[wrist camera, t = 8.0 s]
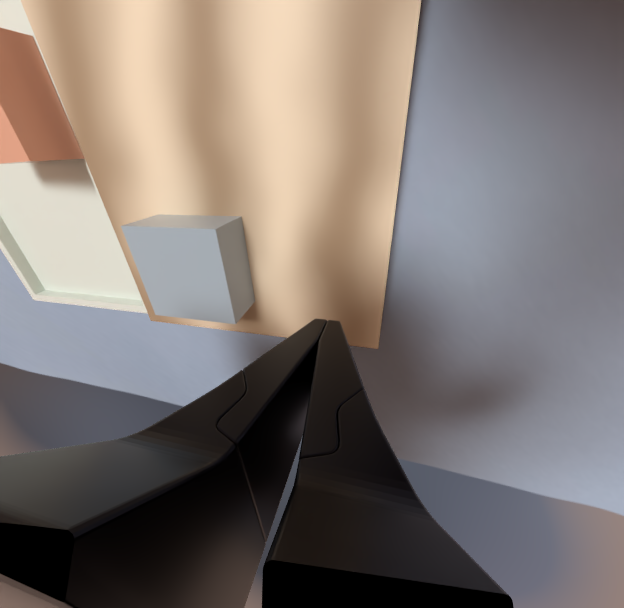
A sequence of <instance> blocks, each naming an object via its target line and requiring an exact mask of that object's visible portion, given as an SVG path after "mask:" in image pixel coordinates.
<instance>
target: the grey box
mask: <svg viewBox="0 0 624 608" xmlns="http://www.w3.org/2000/svg"><path fill="white" fill-rule="evenodd" d="M121 228H122V231H123V233H124V236H125V238H126V241H127V243H128V246H129V248H130V251H131V254H132V256H133V259H134V261H135V264H136V266H137V269H138V271H139V274H140V277H141V279H142V282H143V284H144V287H145V289H146V292H147V294H148V297H149V300H150V302H151V305H152V307H153V310H154V312H155V315H161V316H169V317H178V318H186V319H194V320H203V321H211V322H220V323H228V324H236V323H237V322H238V321H239V320H240V319H241V318H242V316H243V315H244V314H245V313H246V312H247V310H248V309H249V308H250V307H251V306H252V304H253V303H254V302H255V297H254V291H253V285H252V278H251V272H250V266H249V260H248V253H247V247H246V241H245V235H244V228H243V222H242V216H207V215H163V214H158V215H155V216H152V217H148V218H145V219H142V220H138V221H135V222H132V223H128V224H125V225H122V226H121Z"/></svg>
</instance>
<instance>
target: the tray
mask: <svg viewBox="0 0 624 608" xmlns="http://www.w3.org/2000/svg"><path fill="white" fill-rule="evenodd" d="M0 28H4V29H8V30H12V31H16V32H19V33H23V34H27V35H31V36H33V38H34V40H35V43H36V45H37V47H38V50H39V52H40V54H41V57H42V59H43V61H44V64H45V66H46V69H47V71H48V73H49V76H50V78H51V80H52V83H53V85H54V87H55V90H56V92H57V94H58V91H57V89H56V86H55V84H54V81H53V79H52V76H51V74H50V72H49V69H48V67H47V64H46V62H45V59H44V57H43V54H42V52H41V49H40V47H39V45H38V42H37V40H36V37H35V35H34V32H33V30H32V27H31V25H30V22H29V20H28V18H27V15H26V13H25V10H24V8H23V5H22V3H21V0H0ZM58 97H59V99H60V96H59V94H58ZM60 101H61V99H60ZM61 104H62V106H63V103H62V101H61ZM63 108H64V106H63ZM64 111H65V108H64ZM65 113H66V111H65ZM66 116H67V113H66ZM67 118H68V116H67ZM68 120H69V118H68ZM69 123H70V121H69ZM70 125H71V123H70ZM71 127H72V126H71ZM72 130H73V128H72ZM73 132H74V130H73ZM74 134H75V133H74ZM75 137H76V135H75ZM76 139H77V138H76ZM77 141H78V140H77ZM78 144H79V143H78ZM79 146H80V145H79ZM81 151H82V150H81ZM83 156H84V155H83ZM0 249H1V250H2V252H3V253H4V255H5V256H6V258H7V259H8V261H9V263H10V264H11V266H12V267H13V269H14V270H15V272H16V273H17V275H18V276H19V278H20V280H21V281H22V283H23V284H24V286H25V287H26V289H27V290H28V292H29V293H30V295H31V297H32V298H33V300H38V301H46V302H55V303H63V304H72V305H80V306H89V307H97V308H106V309H114V310H123V311H131V312H140V313H148V312H147V310H146V307H145V305H144V302H143V300H142V298H141V295H140V293H139V290H138V288H137V285H136V283H135V280H134V278H133V275H132V273H131V270H130V268H129V266H128V263H127V261H126V258H125V256H124V253H123V251H122V248H121V246H120V243H119V241H118V239H117V236H116V234H115V231H114V229H113V226H112V224H111V221H110V219H109V216H108V214H107V212H106V209H105V207H104V204H103V202H102V199H101V197H100V194H99V192H98V189H97V187H96V185H95V182H94V180H93V177H92V175H91V172H90V170H89V167H88V165H87V162H86V160H85V159H73V160H60V161H47V162H34V163H14V164H0Z"/></svg>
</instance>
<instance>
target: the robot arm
mask: <svg viewBox="0 0 624 608" xmlns="http://www.w3.org/2000/svg"><path fill="white" fill-rule="evenodd" d="M302 435H303V438H302ZM301 438H302V444H301V450H300V456H299V463H298V468H297V473H296V478H295V483H294V486H293V489H292V492H291V495H290V497H289V500H288V503H287V505H286V508H285V511H284V513H283V516H282V519H281V521H280V524H279V527H278V529H277V532H276V535H275V537H274V540H273V542H272V545H271V548H270V550H269V553H268V556H267V558H266V561H265V564H264V567H263V587H262V608H513V602H512V599H511V597H510V596H509V595H508V594H507V593H506V592H505V591H504V590H503V589H502V588H501V587H500V586H499V585H498V584H497V583H496V582H495V581H494V580H493V579H492V578H491V577H490V576H489V575H488V574H487V573H486V572H485V571H484V570H483V569H482V568H481V567H480V566H479V565H478V564H477V563H476V562H475V561H474V559H473V558H472V557H470V555H469V554H468V553H466V551H465V550H464V549H463V548H462V547H461V546H460V545H459V544H458V543H457V542H456V541H455V540H454V539H453V538H452V537H451V536H450V535H449V534H448V533H447V532H446V531H445V530H444V529H443V528H442V527H441V526H440V525H439V524H438V523H437V522H436V520H435V519H434V518H432V516H431V515H430V513H429V512H428V511H427V509H426V508H425V507H424V505H423V504H422V502H421V501H420V499H419V498H418V496H417V494H416V493H415V491H414V489H413V487H412V485H411V484H410V482H409V480H408V478H407V476H406V474H405V472H404V471H403V469H402V467H401V465H400V463H399V461H398V459H397V457H396V456H395V454H394V452H393V450H392V448H391V446H390V444H389V442H388V441H387V439H386V437H385V435H384V433H383V431H382V429H381V427H380V425H379V423H378V421H377V419H376V417H375V414H374V412H373V409H372V407H371V404H370V402H369V399H368V396H367V394H366V391H365V389H364V386H363V383H362V380H361V377H360V375H359V372H358V369H357V366H356V364H355V361H354V358H353V355H352V352H351V350H350V347H349V344H348V341H347V339H346V336H345V333H344V330H343V327H342V325H341V322H340V321H335V320H328V321H327V320H325V319H314V320H312V321H311V322H309V323H308V324H307V325H305V326H304V327H302V328H301V329H300V330H298V331H297V332H295V333H294V334H292V335H291V336H290V337H288V338H287V339H285V340H284V341H282V342H281V343H280V344H278V345H277V346H275V347H274V348H273V349H271V350H270V351H268V352H267V353H265V354H264V355H263V356H261V357H260V358H258V359H257V360H255V361H254V362H253V363H251V364H250V365H248V366H247V367H246V368H244V369H243V371H242V370H241V371H240V372H238V373H237V374H235V375H234V376H233V377H231V378H230V379H228V380H227V381H225V382H224V383H222V384H221V385H219V386H218V387H216V388H215V389H213V390H211V391H210V392H208V393H206V394H205V395H203V396H201V397H200V398H198V399H196V400H195V401H193V402H191V403H190V404H188V405H186V406H184V407H183V408H181V409H179V410H177V411H176V412H174V413H173V414H171V415H169V416H167V417H165V418H164V419H162V420H160V421H159V422H157V423H155V424H153V425H152V426H150V427H148V428H146V429H144V430H142V431H140V432H138V433H135V434H133V435H130V436H127V437H124V438H119V439H115V440H110V441H103V442H96V443H90V444H83V445H76V446H69V447H62V448H56V449H49V450H42V451H35V452H29V453H22V454H15V455H8V456H1V457H0V608H244V606H245V603H246V601H247V598H248V595H249V592H250V589H251V586H252V583H253V580H254V577H255V574H256V571H257V568H258V565H259V562H260V559H261V556H262V554H263V551H264V548H265V542H266V541H267V538H268V536H269V532H270V530H271V526H272V524H273V521H274V518H275V515H276V512H277V509H278V506H279V503H280V500H281V497H282V494H283V491H284V488H285V485H286V482H287V479H288V477H289V473H290V471H291V468H292V465H293V462H294V459H295V456H296V453H297V450H298V447H299V444H300V441H301Z"/></svg>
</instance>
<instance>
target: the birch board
mask: <svg viewBox="0 0 624 608" xmlns="http://www.w3.org/2000/svg"><path fill="white" fill-rule="evenodd" d="M21 3H22V5H23V8H24V10H25V13H26V15H27V18H28V20H29V22H30V25H31V27H32V30H33V32H34V35H35V37H36V40H37V42H38V45H39V47H40V49H41V52H42V54H43V57H44V59H45V62H46V64H47V67H48V69H49V72H50V74H51V76H52V79H53V81H54V84H55V86H56V89H57V91H58V94H59V96H60V99H61V101H62V103H63V106H64V108H65V111H66V113H67V116H68V118H69V121H70V123H71V126H72V128H73V130H74V133H75V135H76V138H77V140H78V143H79V145H80V148H81V150H82V153H83V155H84V158H85V160H86V162H87V165H88V167H89V170H90V172H91V175H92V177H93V180H94V182H95V185H96V187H97V189H98V192H99V194H100V197H101V199H102V202H103V204H104V207H105V209H106V212H107V214H108V216H109V219H110V221H111V224H112V226H113V229H114V231H115V234H116V236H117V239H118V241H119V243H120V246H121V248H122V251H123V253H124V256H125V258H126V261H127V263H128V266H129V268H130V270H131V273H132V275H133V278H134V280H135V283H136V285H137V288H138V290H139V293H140V295H141V298H142V300H143V302H144V305H145V307H146V310H147V312H148V315H149V317H150V320H151V321H158V322H166V323H174V324H182V325H190V326H198V327H206V328H214V329H222V330H230V331H238V332H246V333H254V334H262V335H270V336H278V337H286V338H288V337H290V336H291V335H292V334H294V333H295V332H297V331H298V330H300V329H301V328H302V327H304V326H305V325H307V324H308V323H309V322H311V321H312V320H314V319H325V320H327V321H328V320H335V321H340V322H341V325H342V327H343V330H344V333H345V336H346V339H347V341H348V344H349V345H350V346H358V347H366V348H374V349H378V346H379V338H380V330H381V322H382V313H383V305H384V297H385V289H386V281H387V273H388V265H389V257H390V249H391V241H392V233H393V225H394V216H395V208H396V200H397V192H398V184H399V176H400V168H401V160H402V152H403V144H404V136H405V128H406V120H407V111H408V103H409V95H410V87H411V79H412V71H413V63H414V55H415V47H416V39H417V31H418V23H419V14H420V6H421V0H21ZM158 214H163V215H207V216H242V222H243V228H244V235H245V241H246V247H247V253H248V260H249V266H250V272H251V278H252V285H253V291H254V297H255V302H254V303H253V304H252V306H251V307H250V308H249V309H248V310H247V312H246V313H245V314H244V315H243V316H242V318H241V319H240V320H239V321H238V322H237V323H236V324H228V323H220V322H211V321H203V320H194V319H186V318H178V317H169V316H161V315H155V312H154V310H153V307H152V305H151V302H150V300H149V297H148V294H147V292H146V289H145V287H144V284H143V282H142V279H141V277H140V274H139V271H138V269H137V266H136V264H135V261H134V259H133V256H132V254H131V251H130V248H129V246H128V243H127V241H126V238H125V236H124V233H123V231H122V228H121V226H122V225H125V224H128V223H132V222H135V221H138V220H142V219H145V218H148V217H152V216H155V215H158Z"/></svg>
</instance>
